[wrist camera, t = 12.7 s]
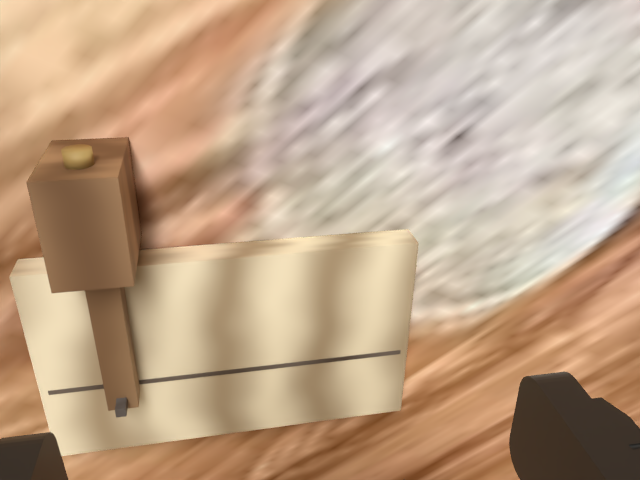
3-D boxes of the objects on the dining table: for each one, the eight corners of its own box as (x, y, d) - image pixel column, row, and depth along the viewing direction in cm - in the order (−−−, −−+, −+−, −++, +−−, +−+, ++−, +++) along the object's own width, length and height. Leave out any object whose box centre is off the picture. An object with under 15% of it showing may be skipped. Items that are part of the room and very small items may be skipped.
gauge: (126, 123, 33) (115, 161, 28) (159, 364, 41) (155, 429, 35) (48, 126, 32) (22, 165, 27) (97, 371, 40) (84, 438, 35)
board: (408, 229, 40) (418, 243, 38) (392, 392, 46) (400, 410, 44) (17, 259, 35) (9, 277, 33) (61, 434, 42) (56, 457, 40)
